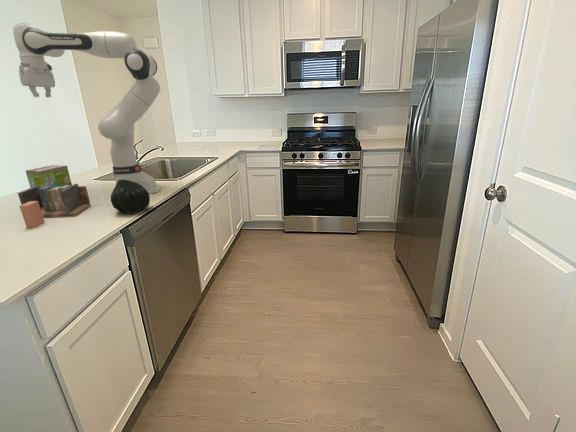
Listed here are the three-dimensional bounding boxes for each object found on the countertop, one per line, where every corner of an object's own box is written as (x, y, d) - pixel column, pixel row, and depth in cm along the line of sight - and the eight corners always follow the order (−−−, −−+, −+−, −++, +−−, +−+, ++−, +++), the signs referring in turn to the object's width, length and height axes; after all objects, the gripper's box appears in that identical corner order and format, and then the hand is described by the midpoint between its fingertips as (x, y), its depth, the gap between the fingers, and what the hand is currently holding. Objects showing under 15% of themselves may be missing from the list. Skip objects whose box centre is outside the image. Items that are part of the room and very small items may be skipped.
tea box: (49, 200, 156) (40, 170, 151) (33, 199, 158) (23, 170, 153) (74, 191, 170) (67, 164, 164) (59, 191, 172) (51, 164, 166)
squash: (157, 199, 135) (141, 170, 137) (122, 209, 125) (105, 178, 126) (150, 214, 145) (134, 187, 147) (117, 224, 135) (101, 196, 136)
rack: (91, 205, 145) (84, 181, 141) (75, 216, 132) (68, 190, 128) (44, 208, 143) (37, 184, 139) (24, 219, 130) (15, 192, 126)
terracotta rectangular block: (44, 222, 127) (37, 200, 123) (35, 227, 121) (28, 205, 118) (36, 222, 126) (29, 201, 123) (26, 228, 121) (19, 206, 118)
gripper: (26, 62, 134) (36, 96, 138) (53, 67, 153) (61, 97, 157) (10, 62, 133) (20, 97, 138) (40, 67, 152) (48, 97, 157)
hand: (42, 97), depth 148 cm, fingers open, 8 cm apart
